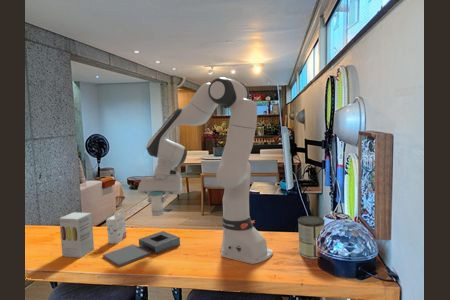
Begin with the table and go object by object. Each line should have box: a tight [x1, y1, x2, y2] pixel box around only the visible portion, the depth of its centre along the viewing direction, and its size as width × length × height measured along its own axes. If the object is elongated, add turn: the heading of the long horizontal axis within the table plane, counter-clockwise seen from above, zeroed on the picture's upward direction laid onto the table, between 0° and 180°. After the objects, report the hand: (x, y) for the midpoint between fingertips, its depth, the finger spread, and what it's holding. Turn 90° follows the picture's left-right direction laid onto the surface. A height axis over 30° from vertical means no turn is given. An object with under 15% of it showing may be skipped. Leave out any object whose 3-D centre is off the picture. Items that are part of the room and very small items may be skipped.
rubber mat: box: [102, 243, 151, 268], centre depth 130 cm, size 14×14×1 cm
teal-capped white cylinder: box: [150, 191, 164, 217], centre depth 138 cm, size 5×5×10 cm
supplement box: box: [58, 211, 95, 259], centre depth 135 cm, size 10×9×17 cm
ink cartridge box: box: [105, 208, 127, 244], centre depth 148 cm, size 9×5×15 cm, turn 168°
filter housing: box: [138, 230, 181, 255], centre depth 139 cm, size 13×13×4 cm
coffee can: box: [297, 215, 326, 260], centre depth 125 cm, size 10×10×14 cm
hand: (156, 201), depth 137 cm, fingers closed on teal-capped white cylinder, 5 cm apart
